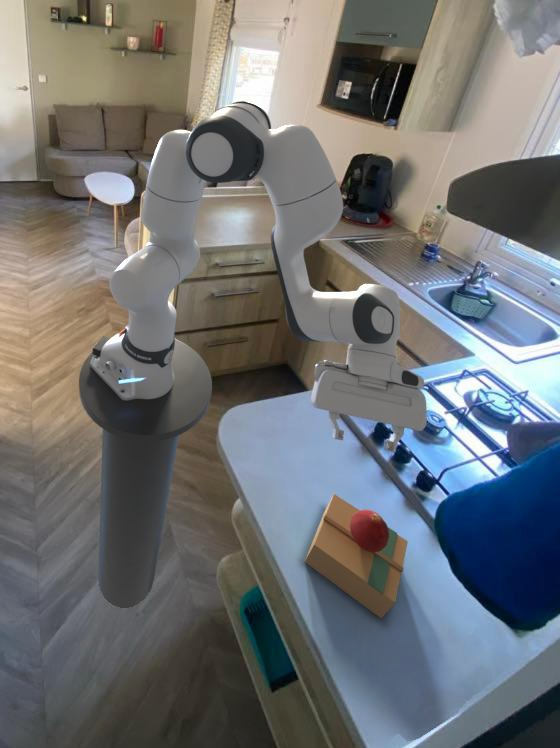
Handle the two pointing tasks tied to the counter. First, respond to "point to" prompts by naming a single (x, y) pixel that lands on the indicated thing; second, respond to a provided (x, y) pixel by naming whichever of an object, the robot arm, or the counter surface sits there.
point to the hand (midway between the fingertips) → (363, 445)
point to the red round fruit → (369, 530)
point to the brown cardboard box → (356, 559)
